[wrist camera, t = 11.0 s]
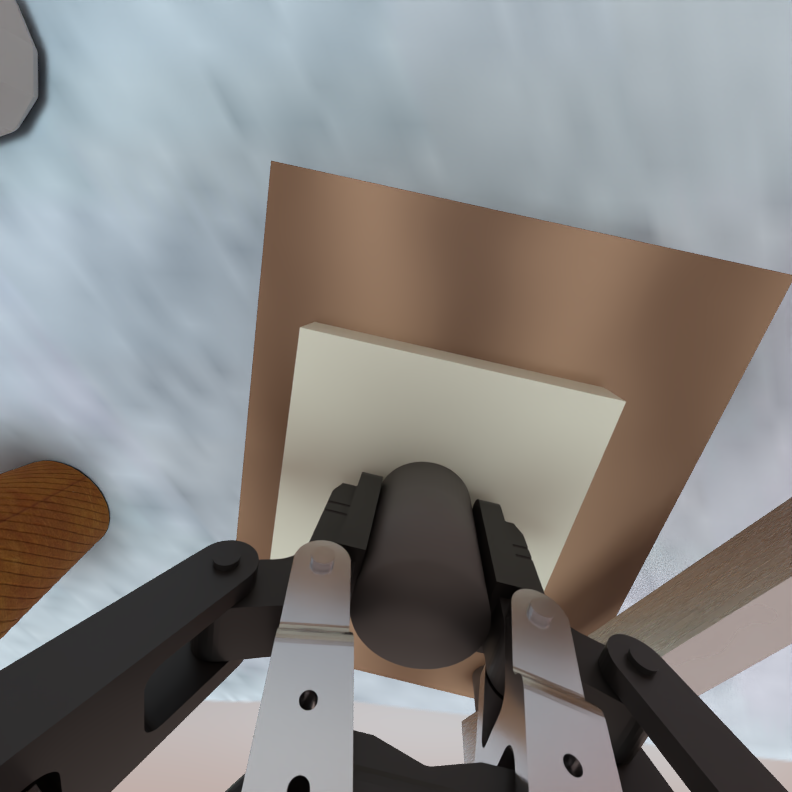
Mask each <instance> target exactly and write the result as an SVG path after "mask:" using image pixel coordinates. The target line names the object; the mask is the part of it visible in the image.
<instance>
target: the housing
mask: <svg viewBox="0 0 792 792" xmlns="http://www.w3.org/2000/svg"><path fill="white" fill-rule="evenodd" d="M791 283H792V275H790V274H785V273H781V272H776V271H772V270H767V269H762V268H758V267H753V266H749V265H744V264H740V263H735V262H730V261H726V260H721V259H717V258H712V257H708V256H703V255H699V254H694V253H689V252H685V251H680V250H676V249H671V248H667V247H662V246H658V245H653V244H648V243H644V242H639V241H635V240H630V239H626V238H621V237H616V236H612V235H607V234H603V233H598V232H594V231H589V230H585V229H580V228H575V227H571V226H566V225H562V224H557V223H553V222H548V221H544V220H539V219H534V218H530V217H525V216H521V215H516V214H512V213H507V212H502V211H498V210H493V209H489V208H484V207H480V206H475V205H471V204H466V203H461V202H457V201H452V200H448V199H443V198H439V197H434V196H430V195H425V194H420V193H416V192H411V191H407V190H402V189H398V188H393V187H388V186H384V185H379V184H375V183H370V182H366V181H361V180H357V179H352V178H347V177H343V176H338V175H334V174H329V173H325V172H320V171H316V170H311V169H306V168H302V167H297V166H293V165H288V164H284V163H279V162H274V161H271V168H270V179H269V190H268V201H267V212H266V223H265V234H264V245H263V256H262V266H261V277H260V288H259V299H258V310H257V321H256V332H255V343H254V354H253V365H252V375H251V386H250V397H249V408H248V419H247V430H246V441H245V452H244V463H243V473H242V484H241V495H240V506H239V517H238V528H237V539H236V541H241V542H244V543H247V544H249V545H251V546H252V547H253V548H254V549H255V550H256V551H257V553H258V557H259V560H260V559H270V556H271V548H272V540H273V532H274V525H275V517H276V509H277V501H278V494H279V486H280V478H281V470H282V463H283V455H284V447H285V439H286V432H287V424H288V416H289V408H290V401H291V393H292V385H293V377H294V370H295V362H296V354H297V346H298V339H299V331H300V327H302V326H305V325H308V324H310V323H313V322H318V323H322V324H326V325H331V326H335V327H340V328H344V329H348V330H353V331H357V332H362V333H366V334H370V335H375V336H379V337H384V338H388V339H392V340H397V341H401V342H406V343H410V344H414V345H419V346H423V347H428V348H432V349H436V350H441V351H445V352H450V353H454V354H458V355H463V356H467V357H472V358H476V359H480V360H485V361H489V362H494V363H498V364H502V365H507V366H511V367H516V368H520V369H524V370H529V371H533V372H538V373H542V374H546V375H551V376H555V377H559V378H564V379H568V380H573V381H577V382H581V383H586V384H590V385H595V386H599V387H603V388H605V389H607V390H609V391H610V392H612V393H613V394H615V395H616V396H618V397H620V398H621V399H623V400H624V401H626V403H625V406H624V408H623V410H622V412H621V415H620V417H619V419H618V422H617V424H616V426H615V429H614V431H613V433H612V436H611V438H610V440H609V442H608V445H607V447H606V449H605V452H604V454H603V456H602V459H601V461H600V463H599V466H598V468H597V470H596V472H595V475H594V477H593V479H592V482H591V484H590V486H589V489H588V491H587V493H586V496H585V498H584V500H583V502H582V505H581V507H580V509H579V512H578V514H577V516H576V519H575V521H574V523H573V526H572V528H571V530H570V532H569V535H568V537H567V539H566V542H565V544H564V546H563V549H562V551H561V553H560V556H559V558H558V560H557V562H556V565H555V567H554V569H553V572H552V574H551V576H550V579H549V581H548V583H547V586H546V588H545V590H544V593H545V595H546V596H548V597H550V598H551V599H552V600H554V601H555V602H556V603H557V604H558V605H559V606H560V607H561V608H562V609H563V611H564V612H565V614H566V615H567V618H568V620H569V623H570V627H572V628H573V629H575V630H576V631H578V632H580V633H582V634H584V635H586V636H588V635H590V634H591V633H593V632H594V631H596V630H597V629H599V628H600V627H602V626H603V625H605V624H606V623H607V622H609V621H610V620H612V619H613V618H615V617H616V615H617V613H618V611H619V610H620V608H621V606H622V604H623V602H624V600H625V598H626V596H627V594H628V592H629V591H630V589H631V587H632V585H633V583H634V581H635V579H636V577H637V575H638V573H639V572H640V570H641V568H642V566H643V564H644V562H645V560H646V558H647V556H648V554H649V553H650V551H651V549H652V547H653V545H654V543H655V541H656V539H657V537H658V535H659V533H660V532H661V530H662V528H663V526H664V524H665V522H666V520H667V518H668V516H669V514H670V513H671V511H672V509H673V507H674V505H675V503H676V501H677V499H678V497H679V495H680V494H681V492H682V490H683V488H684V486H685V484H686V482H687V480H688V478H689V476H690V475H691V473H692V471H693V469H694V467H695V465H696V463H697V461H698V459H699V457H700V456H701V454H702V452H703V450H704V448H705V446H706V444H707V442H708V440H709V438H710V437H711V435H712V433H713V431H714V429H715V427H716V425H717V423H718V421H719V419H720V418H721V416H722V414H723V412H724V410H725V408H726V406H727V404H728V402H729V400H730V399H731V397H732V395H733V393H734V391H735V389H736V387H737V385H738V383H739V381H740V380H741V378H742V376H743V374H744V372H745V370H746V368H747V366H748V364H749V362H750V361H751V359H752V357H753V355H754V353H755V351H756V349H757V347H758V345H759V343H760V342H761V340H762V338H763V336H764V334H765V332H766V330H767V328H768V326H769V324H770V323H771V321H772V319H773V317H774V315H775V313H776V311H777V309H778V307H779V305H780V304H781V302H782V300H783V298H784V296H785V294H786V292H787V290H788V288H789V286H790V285H791ZM349 631H350V632H353V636H354V669H356V670H360V671H364V672H368V673H372V674H376V675H380V676H385V677H389V678H393V679H397V680H401V681H405V682H409V683H413V684H417V685H421V686H425V687H429V688H433V689H437V690H442V691H446V692H450V693H454V694H458V695H462V696H466V697H470V698H474V699H475V709H476V711H478V703H479V688H480V676H481V673H482V671H483V668H484V666H485V656H484V654H483V653H479V652H475V653H474V654H473V655H471V656H470V657H468V658H467V659H465V660H463V661H461V662H459V663H457V664H454V665H451V666H448V667H443V668H438V669H414V668H408V667H404V666H400V665H397V664H394V663H392V662H389V661H387V660H385V659H383V658H381V657H380V656H378V655H377V654H375V653H374V652H373V651H371V650H370V649H369V648H368V647H367V646H366V645H365V644H364V643H363V642H362V641H361V639H360V638H359V636H358V635H357V633H356V631H355V629H354V627H353V624H352V621H351V617H350V624H349Z"/></svg>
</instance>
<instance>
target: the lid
mask: <svg viewBox="0 0 792 792" xmlns="http://www.w3.org/2000/svg"><path fill="white" fill-rule="evenodd" d="M625 403H626V401H624V400H623V399H621V398H620V397H618V396H616V395H615V394H613V393H612V392H610V391H609V390H607V389H605V388H603V387H599V386H595V385H590V384H586V383H581V382H577V381H573V380H568V379H564V378H559V377H555V376H551V375H546V374H542V373H538V372H533V371H529V370H524V369H520V368H516V367H511V366H507V365H502V364H498V363H494V362H489V361H485V360H480V359H476V358H472V357H467V356H463V355H458V354H454V353H450V352H445V351H441V350H436V349H432V348H428V347H423V346H419V345H414V344H410V343H406V342H401V341H397V340H392V339H388V338H384V337H379V336H375V335H370V334H366V333H362V332H357V331H353V330H348V329H344V328H340V327H335V326H331V325H326V324H322V323H318V322H313V323H310V324H308V325H305V326H302V327H300V331H299V339H298V346H297V354H296V362H295V370H294V377H293V385H292V393H291V401H290V408H289V416H288V424H287V432H286V439H285V447H284V455H283V463H282V470H281V478H280V486H279V494H278V501H277V509H276V517H275V525H274V532H273V540H272V548H271V556H270V559H282V558H287V557H290V556H293V555H295V553H296V552H297V550H298V549H299V548H300V547H301V546H303V545H304V544H306V543H309V541H310V539H311V537H312V534H313V532H314V530H315V528H316V526H317V524H318V521H319V519H320V517H321V515H322V513H323V511H324V508H325V506H326V504H327V502H328V500H329V497H330V495H331V493H332V491H333V490H334V489H335V488H336V487H338V486H339V485H341V484H342V483H346V484H350V485H354V486H357V485H358V482H359V479H360V477H361V474H362V472H365V473H370V474H374V475H378V476H382V477H383V480H382V484H381V489H380V493H379V497H378V502H377V506H376V510H375V514H374V518H373V523H372V527H371V531H370V535H369V540H368V544H367V548H366V552H365V557H364V561H363V565H362V569H361V572H360V574H359V576H358V578H357V580H356V584H355V587H354V591H353V595H352V599H351V605H350V616H351V621H352V624H353V627H354V629H355V631H356V633H357V635H358V636H359V638H360V639H361V641H362V642H363V643H364V644H365V645H366V646H367V647H368V648H369V649H370V650H371V651H373V652H374V653H375V654H377V655H378V656H380V657H381V658H383V659H385V660H387V661H389V662H392V663H394V664H397V665H400V666H404V667H408V668H414V669H438V668H443V667H448V666H451V665H454V664H457V663H459V662H461V661H463V660H465V659H467V658H468V657H470V656H471V655H473V654H474V653H475V652H476V651H477V650H478V649H479V648H480V647H481V646H482V644H483V643H484V641H485V640H486V638H487V636H488V633H489V630H490V626H491V611H490V605H489V600H488V594H487V589H486V583H485V577H484V572H483V566H482V561H481V555H480V549H479V544H478V538H477V533H476V527H475V521H474V516H473V510H472V508H473V505H474V503H475V501H476V500H477V499H480V500H484V501H488V502H492V503H497V504H500V506H501V509H502V512H503V515H504V519H505V521H506V522H510V523H514V524H515V526H516V527H517V528H518V529H519V530H520V532H521V533H522V534H523V535H524V538H525V540H526V543H527V546H528V550H529V552H530V554H531V557H532V559H531V560H533V563H534V565H535V568H536V571H537V574H538V577H539V579H540V582H541V585H542V588H543V590H545V588H546V586H547V583H548V581H549V579H550V576H551V574H552V572H553V569H554V567H555V565H556V562H557V560H558V558H559V556H560V553H561V551H562V549H563V546H564V544H565V542H566V539H567V537H568V535H569V532H570V530H571V528H572V526H573V523H574V521H575V519H576V516H577V514H578V512H579V509H580V507H581V505H582V502H583V500H584V498H585V496H586V493H587V491H588V489H589V486H590V484H591V482H592V479H593V477H594V475H595V472H596V470H597V468H598V466H599V463H600V461H601V459H602V456H603V454H604V452H605V449H606V447H607V445H608V442H609V440H610V438H611V436H612V433H613V431H614V429H615V426H616V424H617V422H618V419H619V417H620V415H621V412H622V410H623V408H624V406H625Z"/></svg>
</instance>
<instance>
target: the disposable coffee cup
mask: <svg viewBox="0 0 792 792" xmlns="http://www.w3.org/2000/svg"><path fill="white" fill-rule="evenodd" d="M108 525H109V511H108V507H107V504H106V502H105V500H104V498H103V496H102V494H101V492H100V491H99V489H98V488H97V487H96V486H95V485H94V484H93V482H92V481H91V480H90V479H88V478H87V477H86V476H84V475H83V474H82V473H81V472H79V471H77V470H76V469H74V468H72V467H70V466H68V465H65V464H63V463H59V462H54V461H39V462H33V463H31V464H28V465H25V466H22V467H19V468H17V469H14V470H11V471H8V472H5V473H2V474H0V639H1V638H2V637H3V636H4V635H5V634H6V633H7V632H8V631H9V630H10V629H11V627H13V626H14V625H15V624H16V623H17V622H18V621H19V620H20V619H21V618H22V617H23V615H25V614H26V613H27V612H28V611H29V610H30V609H31V608H32V606H33V605H35V604H36V603H37V602H38V601H39V600H40V599H41V598H42V597H43V595H45V594H46V593H47V592H48V591H49V590H50V589H51V588H52V586H53V585H54V584H56V583H57V582H58V581H59V580H60V579H61V577H62V576H63V575H65V574H66V573H67V572H68V571H69V570H70V568H71V567H72V566H74V565H75V564H76V563H77V562H78V560H79V559H80V558H82V557H83V556H84V555H85V554H86V552H87V551H88V550H90V549H91V548H92V547H93V546H94V544H95V543H96V542H98V541H99V540H100V539H101V538H102V537H103V536H104V535H105V533H106V531H107V529H108Z"/></svg>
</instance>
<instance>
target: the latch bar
mask: <svg viewBox="0 0 792 792" xmlns="http://www.w3.org/2000/svg"><path fill="white" fill-rule="evenodd" d="M615 634H624V635H628V636H631V637H633V638H636V639H638V640H640V641H641V642H643V643H645V644H646V645H648V646H649V647H650V648H652V649H653V650H654V651H655V652H656V653H658V654H659V655H660V656H661V657H662V658H663V659H664V661H665V662H666V663H667V664H668V665H669V666H670V667H671V668H672V669H673V670H674V671H675V672H676V673H677V674H678V675H679V676H680V677H681V679H682V680H683V681H684V682H685V683H686V684H687V685H688V686H689V687H690V688H691V689H692V690H693V691H694V692H695V693H696V694H697V696H699V695H701V694H703V693H704V692H706V691H708V690H710V689H711V688H713V687H715V686H717V685H719V684H720V683H722V682H724V681H726V680H727V679H729V678H731V677H733V676H735V675H736V674H738V673H740V672H742V671H744V670H745V669H747V668H749V667H751V666H752V665H754V664H756V663H758V662H760V661H761V660H763V659H765V658H767V657H769V656H770V655H772V654H774V653H776V652H777V651H779V650H781V649H783V648H785V647H786V646H788V645H790V644H792V497H791V498H790V499H789V500H787V501H786V502H784V503H783V504H781V505H780V506H778V507H777V508H775V509H774V510H772V511H771V512H769V513H768V514H766V515H765V516H763V517H762V518H761V519H759V520H758V521H756V522H755V523H753V524H752V525H750V526H749V527H747V528H746V529H744V530H743V531H741V532H740V533H738V534H737V535H736V536H734V537H733V538H731V539H730V540H728V541H727V542H725V543H724V544H722V545H721V546H719V547H718V548H716V549H715V550H713V551H712V552H711V553H709V554H708V555H706V556H705V557H703V558H702V559H700V560H699V561H697V562H696V563H694V564H693V565H691V566H690V567H688V568H687V569H685V570H684V571H683V572H681V573H680V574H678V575H677V576H675V577H674V578H672V579H671V580H669V581H668V582H666V583H665V584H663V585H662V586H660V587H659V588H658V589H656V590H655V591H653V592H652V593H650V594H649V595H647V596H646V597H644V598H643V599H641V600H640V601H638V602H637V603H635V604H634V605H632V606H631V607H630V608H628V609H627V610H625V611H624V612H622V613H621V614H619V615H618V616H616V617H615V618H613V619H612V620H610V621H609V622H607V623H606V624H605V625H603V626H602V627H600V628H599V629H597V630H596V631H594V632H593V633H591V634H590V635H588V637H590V638H592V639H594V640H596V641H598V642H600V643H602V644H604V645H606V643H607V641H608V639H609V637H611V636H612V635H615ZM477 719H478V711H476V712H475V713H474V714H472V715H471V716H469V717H468V718H466V719H465V720H463V721H462V733H463V747H464V762H465V764H467V763H474V761H475V751H476V735H477Z"/></svg>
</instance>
